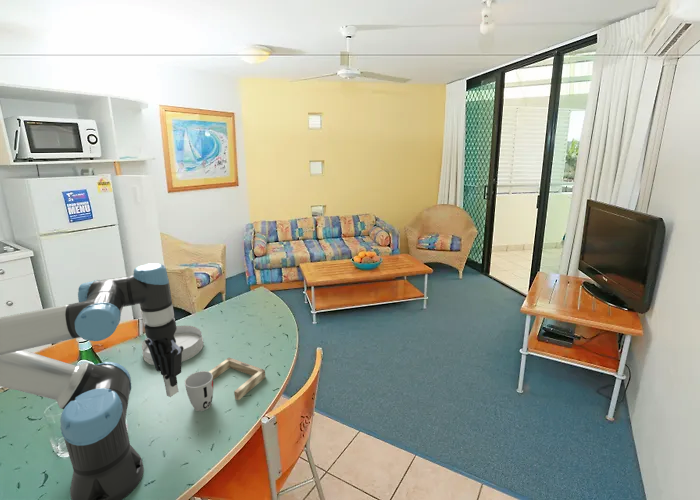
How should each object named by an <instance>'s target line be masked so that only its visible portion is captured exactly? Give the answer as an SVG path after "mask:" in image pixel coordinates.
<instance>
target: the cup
mask: <svg viewBox="0 0 700 500" xmlns="http://www.w3.org/2000/svg"><path fill="white" fill-rule="evenodd" d="M184 386H185V390H186V394H187V397H188V399H189V402H190V404H191V406H192V407H193V409H194V410H195V411H197V412H204V411H207V410H208V409H209V408H210V407H211V406H212V403H213V402H212V401H213V398H214V380H213V375H212V374H211V373H210V372H209V371H208V370H207V371H206V370H201V371H195V372H194V373H191V374H190V375H188V376H187V377H186V378H185V380H184Z"/></svg>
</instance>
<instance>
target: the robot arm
mask: <svg viewBox="0 0 700 500" xmlns="http://www.w3.org/2000/svg"><path fill="white" fill-rule="evenodd" d="M169 279H170V278H169V275H168V271H167V268H166V266H165V265H163V264H162V263H157V262H151V263H145V264H141V265H138V266H136V267H135V268H134V269H133V274H132V275H129V276H121V277H114V278H107V279H95V280H92V281H87V282H83V283H81V284H80V285H79V286H78V289H77V290H78V292H77V299H78V302H74V303H69V304H64V305H63V304H62V305H57V306H52V307H46V308H42V309H36V310H32V311H31V310H30V311H26V312H22V313H16V314H11V315H4V316H0V387H3V388H5V389H6V388H7V389H10V390H11V389H12V390H15V391H18V392H22V393H27V394H31V395H33V396H39V397H43V398H45V399H46V398H47V399H51V400H54V401H56V404H57V405H58V407H59V409H61V410H62V411H61V413H60V419H59V420H60V421H59V422H60V431H61V435H62V437H63V440H64V443H65V446H66V449H67V450H66V451H67V453H68V457H69V459H70V462H71V463H70V464H71V466H72V469H73V472H72V478H71V482H70V483H71V484H70V490H69V496H70V499H71V500H123V499H125V498H126V497H127V496H128V495H130V494H131V493H132V492H133V491H134V490H135V489H136V487H138V485H139V483H140V482H141V479H143V476H144V471H145V468H144V463H143V458H142V457H141V455H140V454H139V453H138V451H136V450H135V448H134V447H133V446H132V445H131V442H130V439H129V433H128V429H127V423H126V420H127V419H126V418H127V411H128V408H129V407H128V406H129V399H130V394H131V391H132V382H131V381H132V380H131V375H130V372H129V370H128V369H126V367H124V366H123V365H122V364H120V363H117V362H113V361H103V362H101V363H96V364H93V363H90V362H84V363H81V364H79V365H74V364H71V363H67V362H64V361H61V360H58V359H55V358H52V357H48V356H44V355H42V354H39V353H34V352H31V351H28V349H34V348H38V347H42V346H47V345H51V344H56V343H59V342H60V343H61V342H65V341H69V340H73V339H74V340H75V339H77V338H81V339H82V340H85V341H89V342H100V341H104V340H106V339H108V338H110V337H111V336H112V335H113V334H114V333H115V332H116V330H117V328H118V326H119V324H120V321H121V316H122V312H123V308H124V307H129V306H136V305H139V306H140V312H141V318H142V322H143V327H144V332H145V336H146V338H148V339H146V338H145V339H146V340H145V339H144V340H145V343H146V344H147V346H148V348H149V351H150V354H151V357H152V359H153V362H154V365H153V366H154V367H155V371H156V372H159V373H160V375H161V376H162V379H163V383H164V387H165V391H166V397H169V398H171V397H173V396H175V395H177V393H179V388H178V379H177V376H178V375H180V374H181V373H182V365H183V364H182V363H183V362H182V351H183V349H184V348H183V346H180V347H179V346H178V345H177V344H176V340H175V338H174V333H175V332H176V329H177V328H176V326H177V323H176V318H175V311H174V307H173V299H172V293H171V287H170V280H169Z"/></svg>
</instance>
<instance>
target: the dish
mask: <svg viewBox="0 0 700 500" xmlns="http://www.w3.org/2000/svg"><path fill="white" fill-rule="evenodd" d="M176 328H177V329H176V332H175V333H174V338H175V340H176V344H177V345H178V346H179V347H180V346H183V348H184V349H183V351H182V363H183V362H186V361H187V360H190V359H191V358H193V357H195V356H196V355H197V354H199V353H200V352H201V351H202V349H203V347H204V338H203V336H202V331H201V329H200V328H198V327H196V326H192V325H176ZM146 339H148V338H147V337H146V338H145V339H144V341H142V345H141V349H142V350H141V351H142V352H141V353H142V357H143V360H144V362H146V363H147V364H149V365H152V366H155V365H154V362H153V359H152V357H151V354H150V351H149V348H148V346H147V344H146V343H145V340H146Z"/></svg>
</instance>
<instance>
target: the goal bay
mask: <svg viewBox="0 0 700 500" xmlns="http://www.w3.org/2000/svg"><path fill="white" fill-rule="evenodd" d="M229 369H233V370H236V371H237V372H241V373H244V374H247V375H249V376H251V377H250V378H249V379H247V380H245V382H244V383H242V384H241V385H240V386H239V387H237V388H236V389H235V390H234V391H233V393H234V394H233V396H234V399H235V400H237V401H240V400H241V399H242V398H243V397H245V395H247V394H248V393H249V392H250V391H251V390H253V388H255V387H256V386H257V385H258V384H260V383H261V382H262V381H263V380H264V379H266V370H265V369H263V368H260V367H257V366H254V365H251V364H249V363H247V362H243V361H240V360H237V359H235V358H231V357H227V358H226V359H225V360H224V361H222V362H220V363H219V364H217V365H216V366H214V367H213V368H212V369H210V370H209V371H208V372H210V373H211V374H212V375H213V381H214V380H215V379H216V378H218V377H219V376H221V374H223V373H224V372H226V371H227V370H229Z"/></svg>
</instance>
